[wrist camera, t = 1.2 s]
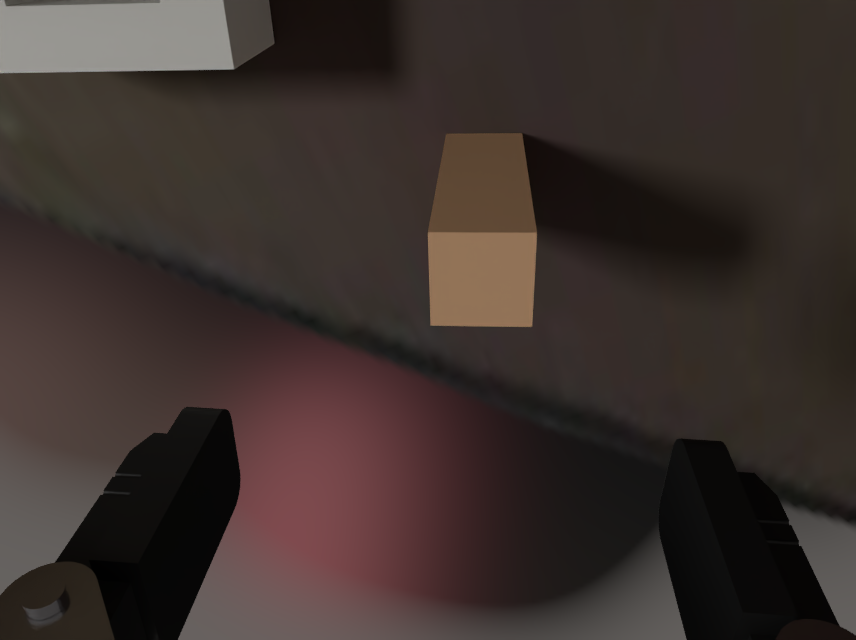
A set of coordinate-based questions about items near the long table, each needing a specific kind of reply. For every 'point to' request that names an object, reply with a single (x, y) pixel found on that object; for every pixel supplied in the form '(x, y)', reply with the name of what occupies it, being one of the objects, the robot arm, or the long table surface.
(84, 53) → the socket
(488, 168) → the peg
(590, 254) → the long table surface
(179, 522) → the robot arm
